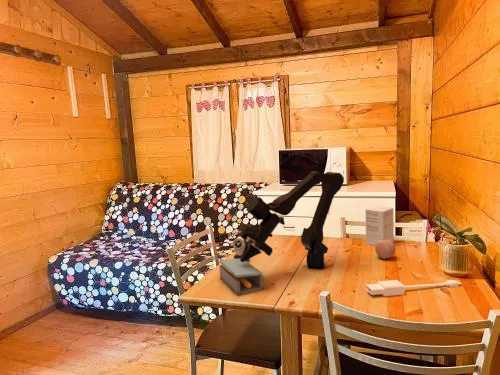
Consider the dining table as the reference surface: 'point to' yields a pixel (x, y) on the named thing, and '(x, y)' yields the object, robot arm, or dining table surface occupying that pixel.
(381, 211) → the supplement box
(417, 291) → the dining table surface
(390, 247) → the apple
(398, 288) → the charging cable
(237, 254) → the watch
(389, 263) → the dining table surface
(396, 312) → the dining table surface
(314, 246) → the robot arm
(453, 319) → the dining table surface
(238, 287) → the cable duct
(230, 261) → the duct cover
